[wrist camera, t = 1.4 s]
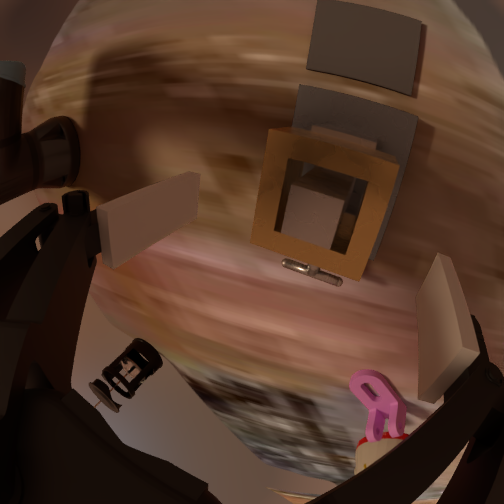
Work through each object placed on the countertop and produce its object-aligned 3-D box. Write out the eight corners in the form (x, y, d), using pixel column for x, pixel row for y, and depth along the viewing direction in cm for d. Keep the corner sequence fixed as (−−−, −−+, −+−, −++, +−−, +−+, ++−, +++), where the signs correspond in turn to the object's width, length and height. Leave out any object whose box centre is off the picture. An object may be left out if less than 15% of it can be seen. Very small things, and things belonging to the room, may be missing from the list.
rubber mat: (307, 69, 25) (305, 68, 25) (318, 0, 20) (317, -2, 20) (410, 96, 22) (411, 95, 21) (420, 22, 17) (421, 21, 17)
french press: (153, 341, 59) (85, 409, 40) (170, 371, 62) (111, 438, 44) (123, 334, 65) (61, 391, 46) (140, 362, 68) (84, 419, 49)
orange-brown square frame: (274, 219, 24) (250, 242, 20) (292, 126, 20) (268, 128, 16) (364, 250, 22) (359, 281, 18) (394, 156, 18) (399, 165, 14)
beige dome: (393, 424, 42) (379, 493, 29) (430, 445, 40) (421, 505, 28) (345, 444, 50) (325, 501, 37) (383, 462, 48) (369, 515, 36)
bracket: (406, 406, 39) (403, 439, 33) (379, 414, 42) (373, 445, 36) (374, 364, 38) (368, 400, 32) (344, 375, 41) (334, 409, 35)
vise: (273, 241, 36) (205, 319, 23) (304, 86, 26) (233, 59, 13) (365, 274, 32) (345, 376, 19) (415, 117, 23) (457, 112, 10)
